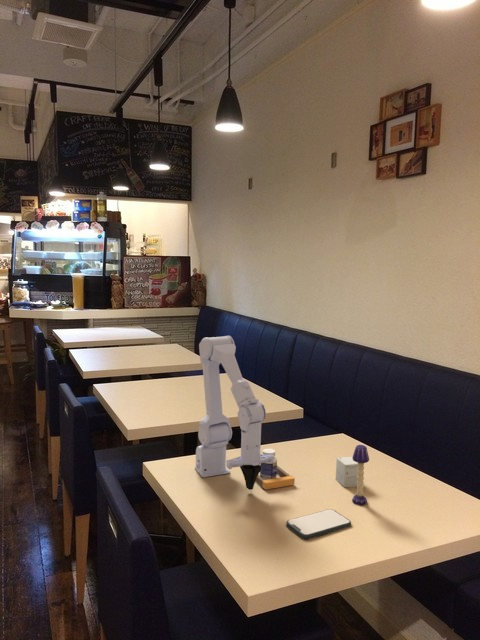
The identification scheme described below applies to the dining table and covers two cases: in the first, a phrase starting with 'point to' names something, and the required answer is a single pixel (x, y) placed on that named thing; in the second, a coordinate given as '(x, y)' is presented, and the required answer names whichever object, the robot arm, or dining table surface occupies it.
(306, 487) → the dining table surface
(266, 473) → the pill bottle
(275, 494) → the dining table surface
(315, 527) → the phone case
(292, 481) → the orange rectangular block
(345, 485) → the product box
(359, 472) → the toy lamp
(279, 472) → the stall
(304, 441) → the dining table surface
